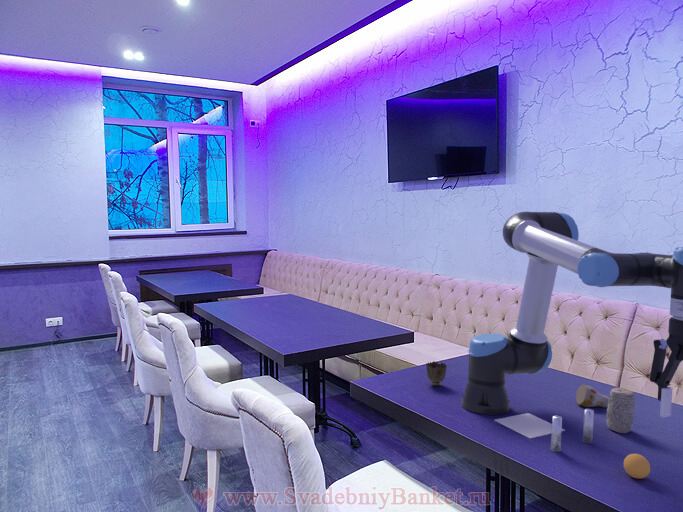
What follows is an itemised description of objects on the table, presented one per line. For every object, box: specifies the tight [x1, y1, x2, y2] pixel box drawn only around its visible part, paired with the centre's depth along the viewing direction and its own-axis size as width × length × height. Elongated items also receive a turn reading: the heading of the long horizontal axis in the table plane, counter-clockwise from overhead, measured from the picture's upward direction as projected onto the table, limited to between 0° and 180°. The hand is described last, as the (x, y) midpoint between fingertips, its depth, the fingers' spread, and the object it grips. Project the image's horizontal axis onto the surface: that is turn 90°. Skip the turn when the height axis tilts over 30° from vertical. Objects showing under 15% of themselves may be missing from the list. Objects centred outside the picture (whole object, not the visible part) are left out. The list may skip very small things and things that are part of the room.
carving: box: [605, 387, 636, 434], centre depth 146 cm, size 6×8×12 cm
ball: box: [623, 453, 651, 479], centre depth 119 cm, size 6×6×6 cm
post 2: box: [582, 408, 595, 445], centre depth 137 cm, size 2×2×9 cm
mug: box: [575, 384, 610, 408], centre depth 166 cm, size 8×10×10 cm
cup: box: [425, 360, 448, 387], centre depth 183 cm, size 8×7×8 cm
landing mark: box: [494, 412, 566, 440], centre depth 148 cm, size 14×14×1 cm
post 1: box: [550, 415, 563, 453], centre depth 132 cm, size 2×2×9 cm
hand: (682, 422), depth 109 cm, fingers open, 7 cm apart
